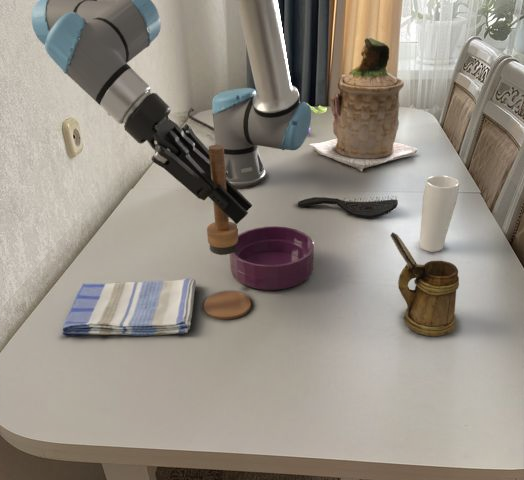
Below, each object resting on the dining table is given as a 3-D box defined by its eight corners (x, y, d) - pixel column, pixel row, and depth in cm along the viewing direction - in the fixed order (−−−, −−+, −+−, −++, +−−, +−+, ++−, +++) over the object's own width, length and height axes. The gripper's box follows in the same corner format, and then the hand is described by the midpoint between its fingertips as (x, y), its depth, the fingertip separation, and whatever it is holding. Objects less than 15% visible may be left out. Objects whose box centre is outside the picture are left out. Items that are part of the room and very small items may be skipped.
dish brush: (203, 246, 99) (193, 145, 88) (230, 238, 101) (223, 139, 90) (217, 258, 96) (208, 154, 85) (244, 250, 98) (238, 148, 87)
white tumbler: (447, 242, 123) (461, 177, 114) (445, 256, 118) (458, 189, 109) (417, 238, 125) (427, 173, 116) (413, 252, 120) (424, 185, 111)
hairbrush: (301, 188, 142) (399, 191, 136) (301, 202, 145) (398, 205, 138) (293, 201, 136) (396, 205, 130) (294, 215, 138) (395, 220, 132)
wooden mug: (375, 308, 103) (386, 220, 92) (448, 308, 103) (467, 219, 92) (382, 337, 96) (395, 245, 85) (460, 336, 96) (483, 244, 85)
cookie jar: (420, 154, 167) (438, 35, 147) (360, 173, 157) (370, 47, 137) (364, 135, 183) (374, 25, 164) (306, 150, 173) (309, 35, 153)
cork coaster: (196, 302, 107) (196, 299, 107) (237, 288, 110) (237, 286, 110) (216, 325, 101) (216, 322, 100) (259, 310, 104) (259, 307, 104)
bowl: (217, 264, 118) (215, 239, 115) (285, 244, 125) (285, 219, 121) (256, 301, 106) (254, 275, 103) (329, 277, 113) (330, 251, 109)
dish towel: (191, 336, 98) (189, 323, 96) (60, 339, 99) (56, 327, 97) (199, 285, 112) (198, 273, 110) (84, 288, 112) (81, 276, 110)
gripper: (143, 112, 94) (241, 209, 102) (104, 140, 83) (218, 248, 90) (168, 79, 90) (268, 183, 97) (130, 104, 78) (248, 220, 86)
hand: (244, 214), depth 94 cm, fingers closed on dish brush, 2 cm apart
